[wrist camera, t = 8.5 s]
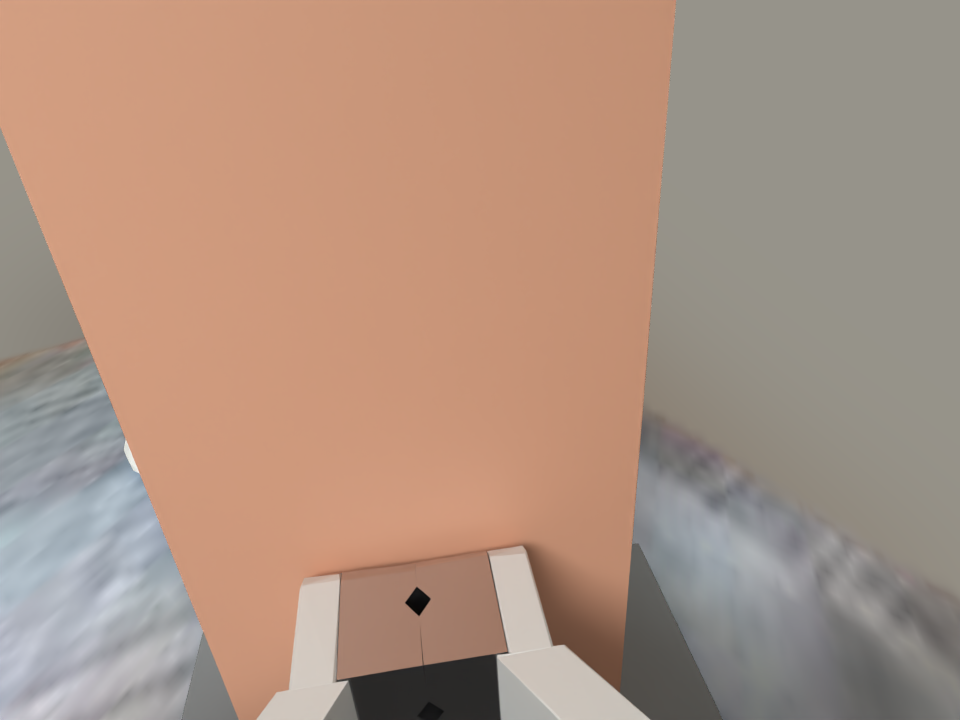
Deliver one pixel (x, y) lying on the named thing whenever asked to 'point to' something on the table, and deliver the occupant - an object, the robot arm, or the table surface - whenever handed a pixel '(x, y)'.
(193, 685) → the chute mat
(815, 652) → the table surface
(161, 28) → the block
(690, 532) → the table surface
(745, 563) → the table surface
